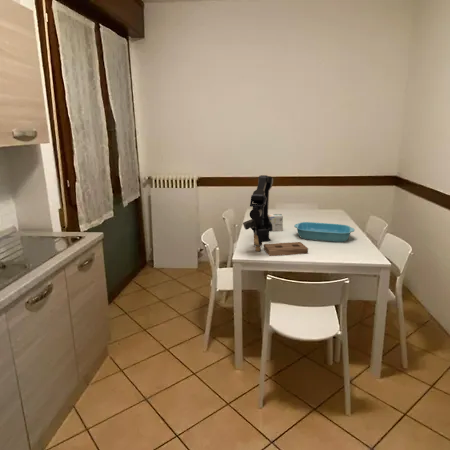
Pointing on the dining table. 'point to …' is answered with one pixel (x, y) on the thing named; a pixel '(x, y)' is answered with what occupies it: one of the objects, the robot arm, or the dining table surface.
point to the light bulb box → (276, 222)
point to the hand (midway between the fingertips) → (258, 242)
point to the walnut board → (285, 249)
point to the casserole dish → (324, 231)
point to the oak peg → (256, 242)
